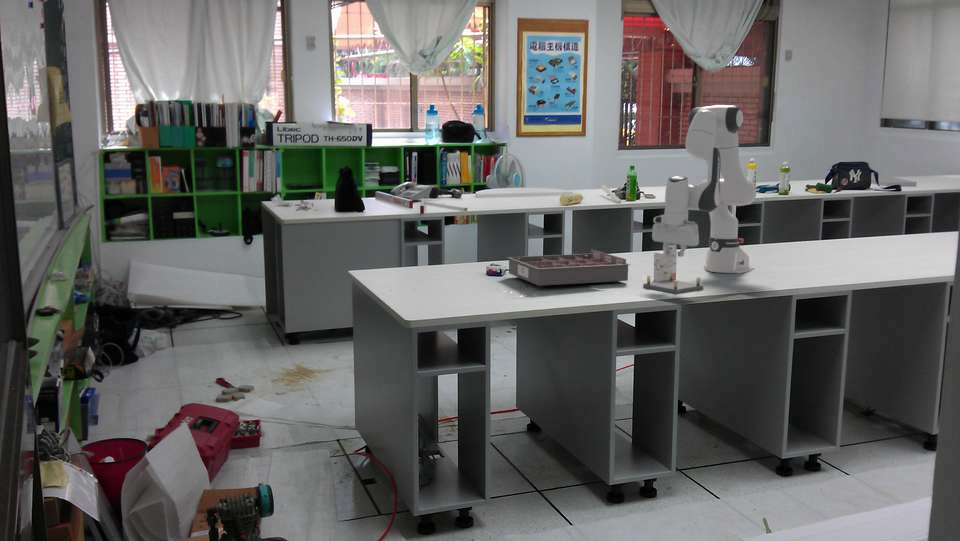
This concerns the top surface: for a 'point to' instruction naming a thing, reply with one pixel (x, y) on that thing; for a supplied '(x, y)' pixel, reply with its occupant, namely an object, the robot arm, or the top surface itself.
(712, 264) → the robot arm
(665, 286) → the chassis plate
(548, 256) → the organizer tray
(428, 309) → the top surface
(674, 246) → the ink cartridge box
